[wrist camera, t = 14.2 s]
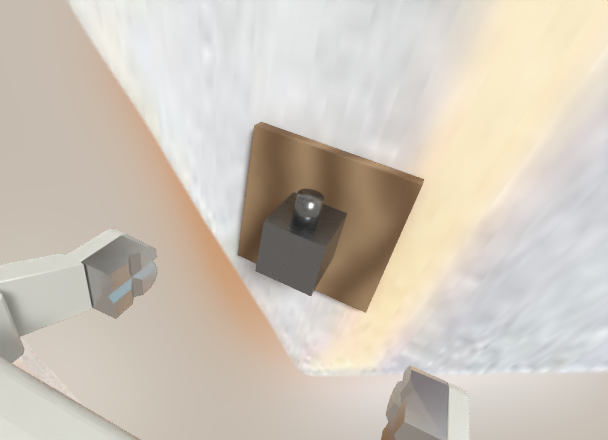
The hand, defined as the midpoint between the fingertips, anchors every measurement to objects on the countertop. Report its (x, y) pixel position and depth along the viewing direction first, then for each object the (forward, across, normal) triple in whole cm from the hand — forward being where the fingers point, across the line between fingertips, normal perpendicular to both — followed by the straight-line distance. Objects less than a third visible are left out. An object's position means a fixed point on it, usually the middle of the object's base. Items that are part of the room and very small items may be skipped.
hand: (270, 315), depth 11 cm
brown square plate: (+27, +4, +15) cm, 31 cm away
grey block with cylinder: (+26, +5, +13) cm, 29 cm away
